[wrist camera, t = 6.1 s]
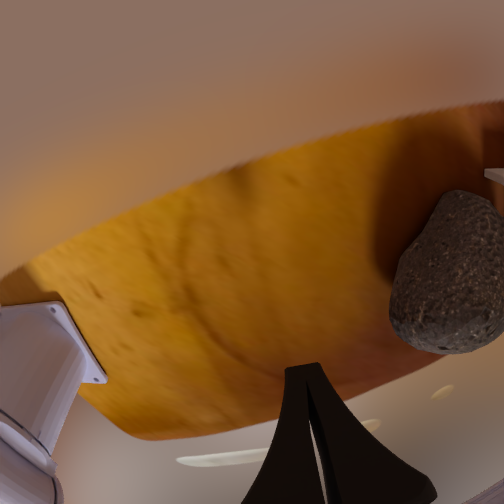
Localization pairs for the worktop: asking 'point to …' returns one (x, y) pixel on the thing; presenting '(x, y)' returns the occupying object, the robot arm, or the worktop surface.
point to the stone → (452, 278)
